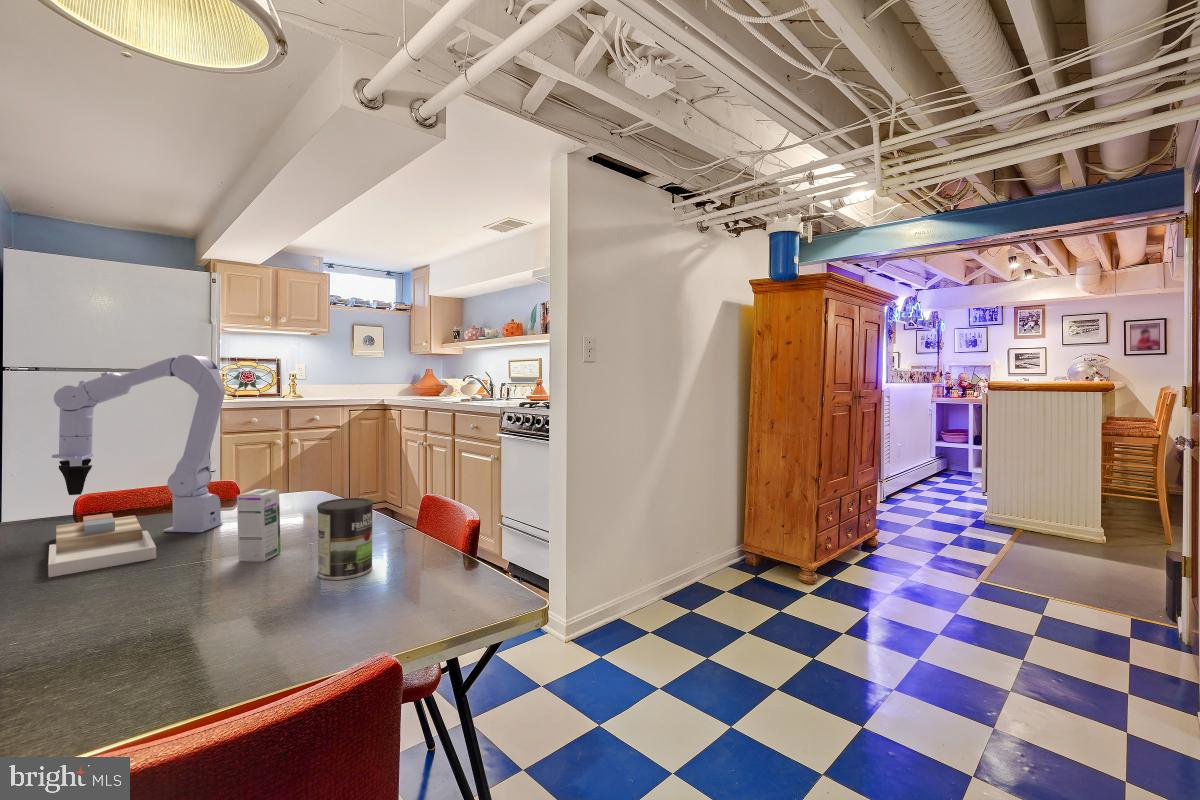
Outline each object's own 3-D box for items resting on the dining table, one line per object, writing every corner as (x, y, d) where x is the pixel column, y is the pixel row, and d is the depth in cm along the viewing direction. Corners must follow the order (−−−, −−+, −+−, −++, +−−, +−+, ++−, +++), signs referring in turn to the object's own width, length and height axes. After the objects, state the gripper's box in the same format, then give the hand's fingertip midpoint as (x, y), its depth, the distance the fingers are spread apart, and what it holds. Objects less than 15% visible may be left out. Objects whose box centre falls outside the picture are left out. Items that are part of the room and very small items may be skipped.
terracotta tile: (83, 524, 126) (83, 516, 126) (111, 521, 130) (111, 512, 130) (84, 529, 123) (83, 520, 123) (113, 525, 126) (113, 517, 126)
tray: (49, 556, 113) (49, 544, 113) (147, 540, 125) (147, 530, 125) (48, 577, 102) (48, 564, 102) (156, 558, 114) (156, 546, 114)
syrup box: (264, 562, 113) (264, 494, 112) (237, 561, 113) (236, 493, 112) (281, 553, 119) (280, 489, 118) (254, 552, 119) (254, 488, 118)
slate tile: (84, 529, 122) (83, 521, 122) (113, 525, 126) (113, 517, 126) (84, 534, 119) (84, 525, 119) (115, 530, 123) (114, 521, 122)
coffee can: (383, 564, 113) (383, 499, 112) (351, 583, 103) (351, 511, 102) (340, 560, 115) (340, 495, 114) (305, 577, 105) (304, 507, 104)
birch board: (56, 538, 125) (56, 525, 125) (135, 527, 135) (135, 515, 135) (56, 555, 114) (56, 541, 114) (142, 541, 124) (141, 529, 124)
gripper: (52, 432, 130) (51, 487, 130) (51, 439, 120) (50, 499, 120) (92, 432, 135) (91, 485, 135) (94, 438, 125) (93, 495, 125)
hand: (74, 491), depth 128 cm, fingers open, 7 cm apart
